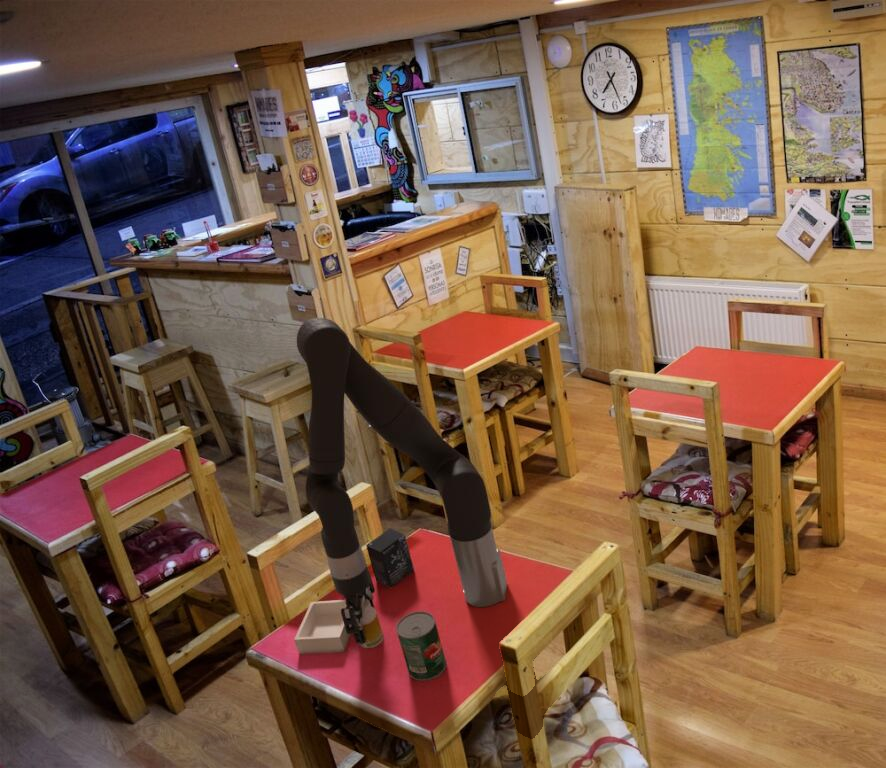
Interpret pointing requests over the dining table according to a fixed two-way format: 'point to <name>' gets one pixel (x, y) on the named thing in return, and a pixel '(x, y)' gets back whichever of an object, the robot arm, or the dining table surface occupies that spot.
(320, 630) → the tub
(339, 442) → the robot arm
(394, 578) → the box
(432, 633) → the canned tomato
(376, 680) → the dining table surface
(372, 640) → the supplement bottle
